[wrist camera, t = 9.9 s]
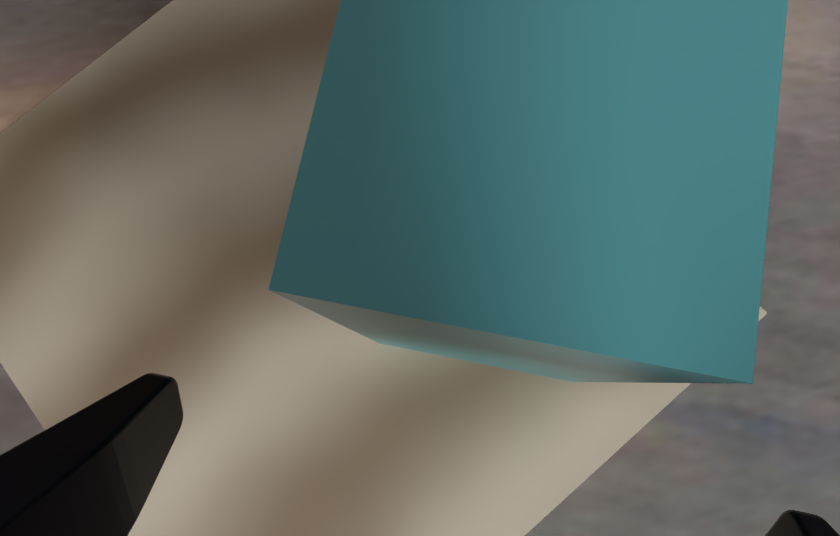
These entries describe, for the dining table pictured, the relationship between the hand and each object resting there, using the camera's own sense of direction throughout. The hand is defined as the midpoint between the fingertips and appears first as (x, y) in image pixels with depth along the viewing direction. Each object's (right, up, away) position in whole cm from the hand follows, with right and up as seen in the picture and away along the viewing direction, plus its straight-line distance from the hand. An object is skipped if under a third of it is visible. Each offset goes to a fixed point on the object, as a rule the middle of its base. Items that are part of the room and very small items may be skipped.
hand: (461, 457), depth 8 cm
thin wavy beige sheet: (-4, +3, +10) cm, 11 cm away
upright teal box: (+2, +3, +8) cm, 9 cm away
